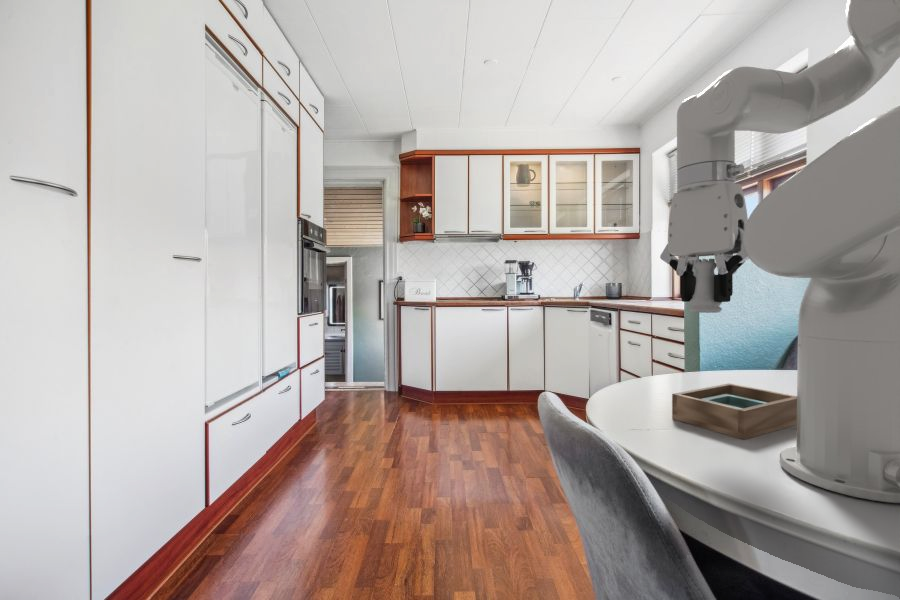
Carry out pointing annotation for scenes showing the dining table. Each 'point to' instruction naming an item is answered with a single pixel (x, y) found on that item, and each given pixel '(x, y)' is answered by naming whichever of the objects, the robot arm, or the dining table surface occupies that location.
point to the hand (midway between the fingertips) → (705, 300)
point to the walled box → (735, 410)
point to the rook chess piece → (704, 288)
